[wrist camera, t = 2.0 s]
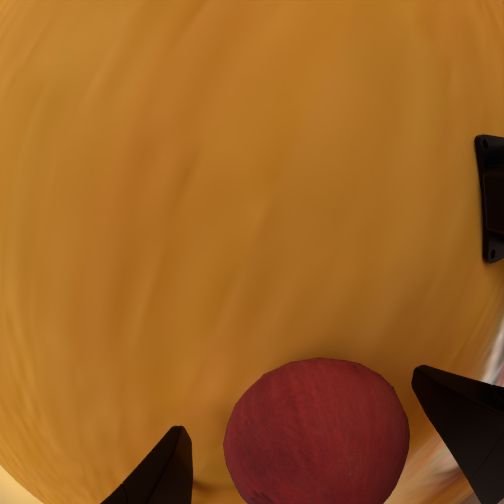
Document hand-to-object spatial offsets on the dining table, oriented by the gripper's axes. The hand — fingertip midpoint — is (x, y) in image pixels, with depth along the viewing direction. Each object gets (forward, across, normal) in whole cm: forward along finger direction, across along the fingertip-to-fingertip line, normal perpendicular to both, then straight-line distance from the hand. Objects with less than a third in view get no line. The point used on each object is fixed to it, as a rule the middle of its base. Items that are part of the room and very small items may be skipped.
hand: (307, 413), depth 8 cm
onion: (+2, 0, 0) cm, 2 cm away
